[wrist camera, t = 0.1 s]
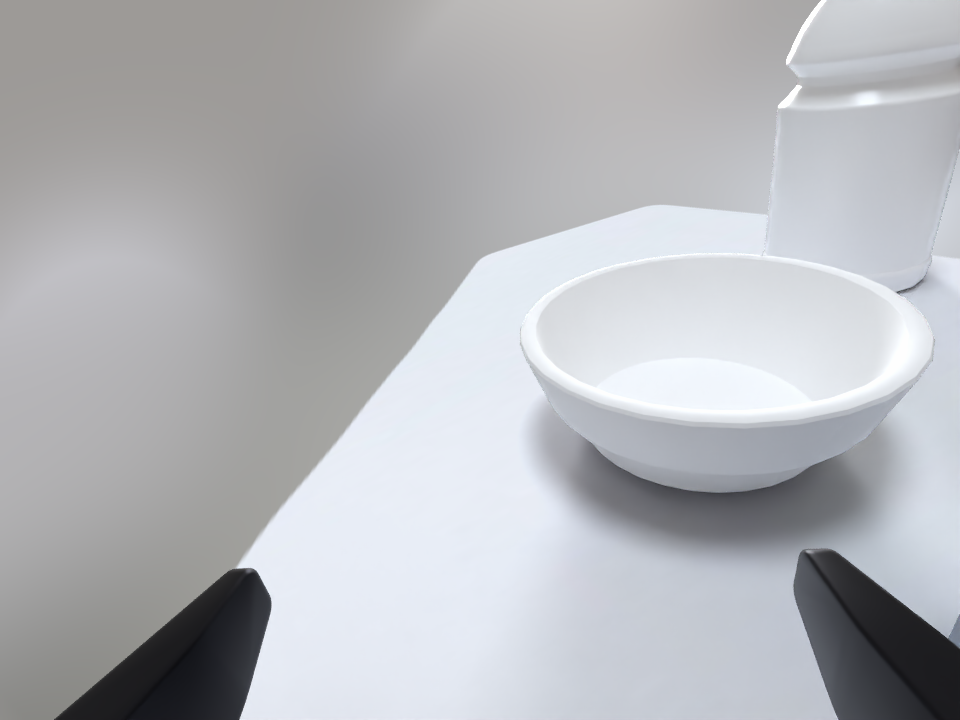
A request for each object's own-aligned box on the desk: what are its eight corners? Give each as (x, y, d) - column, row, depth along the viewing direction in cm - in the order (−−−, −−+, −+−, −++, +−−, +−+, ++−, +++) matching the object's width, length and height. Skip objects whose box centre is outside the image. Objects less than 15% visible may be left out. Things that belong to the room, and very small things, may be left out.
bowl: (737, 323, 47) (745, 232, 43) (1009, 485, 28) (1070, 347, 24) (500, 383, 45) (484, 293, 41) (612, 608, 25) (604, 478, 21)
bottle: (835, 240, 60) (887, -62, 47) (965, 274, 48) (1085, -119, 35) (731, 270, 58) (754, -41, 44) (841, 313, 46) (918, -94, 32)
